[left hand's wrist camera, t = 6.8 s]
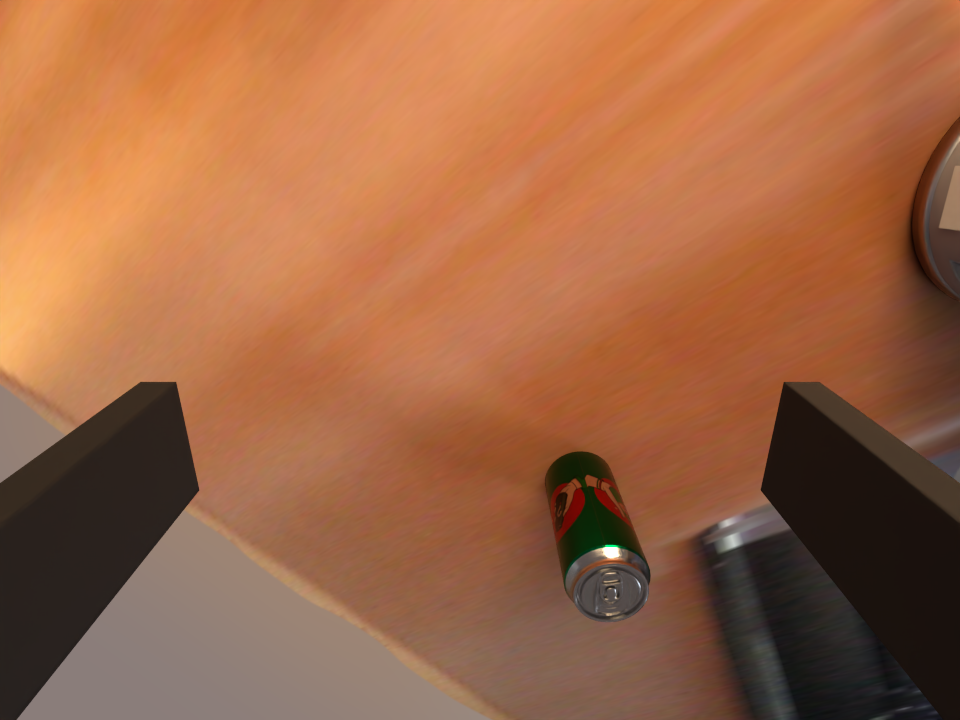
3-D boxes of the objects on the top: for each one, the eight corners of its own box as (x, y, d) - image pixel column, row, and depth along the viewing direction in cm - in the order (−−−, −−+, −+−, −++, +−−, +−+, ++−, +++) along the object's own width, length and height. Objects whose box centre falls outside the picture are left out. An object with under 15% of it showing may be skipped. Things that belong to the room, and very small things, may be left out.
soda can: (546, 506, 44) (569, 631, 33) (541, 451, 42) (563, 562, 31) (611, 500, 44) (656, 623, 33) (609, 444, 42) (655, 554, 31)
